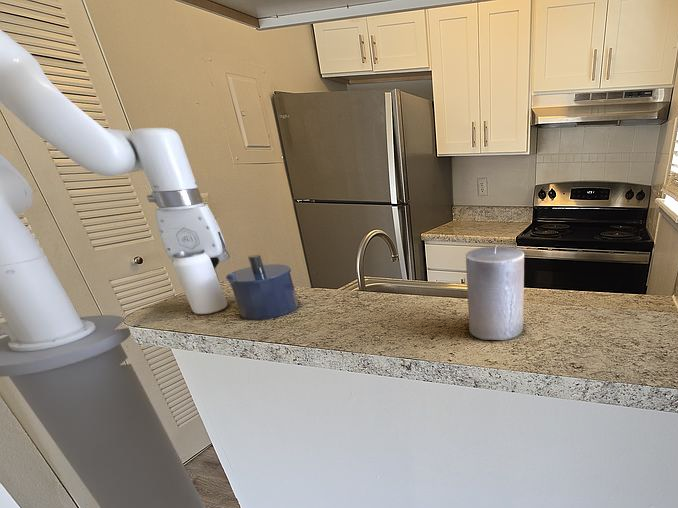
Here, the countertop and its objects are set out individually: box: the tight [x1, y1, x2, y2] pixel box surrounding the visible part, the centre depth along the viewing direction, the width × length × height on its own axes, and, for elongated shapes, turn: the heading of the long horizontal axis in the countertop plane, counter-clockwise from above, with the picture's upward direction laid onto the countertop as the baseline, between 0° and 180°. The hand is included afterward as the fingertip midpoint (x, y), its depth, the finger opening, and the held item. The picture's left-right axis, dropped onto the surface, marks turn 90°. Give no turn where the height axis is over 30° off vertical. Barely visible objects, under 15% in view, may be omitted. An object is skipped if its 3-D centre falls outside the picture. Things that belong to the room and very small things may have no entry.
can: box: [172, 250, 228, 315], centre depth 83 cm, size 6×6×12 cm
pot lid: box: [225, 254, 292, 284], centre depth 81 cm, size 12×12×4 cm
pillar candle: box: [465, 244, 525, 341], centre depth 69 cm, size 10×10×15 cm
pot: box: [229, 272, 299, 321], centre depth 83 cm, size 11×11×8 cm
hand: (212, 288), depth 89 cm, fingers closed
